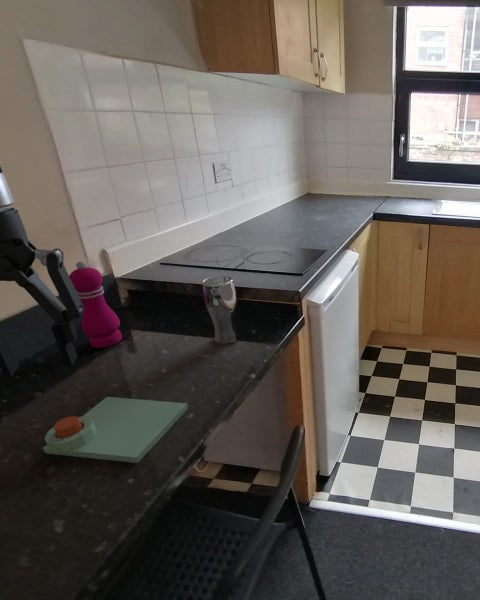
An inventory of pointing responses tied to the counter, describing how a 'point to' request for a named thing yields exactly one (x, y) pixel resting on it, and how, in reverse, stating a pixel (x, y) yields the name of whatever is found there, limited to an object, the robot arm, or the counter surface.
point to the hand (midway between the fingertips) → (42, 366)
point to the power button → (68, 426)
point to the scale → (118, 430)
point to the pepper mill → (95, 307)
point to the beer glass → (222, 308)
